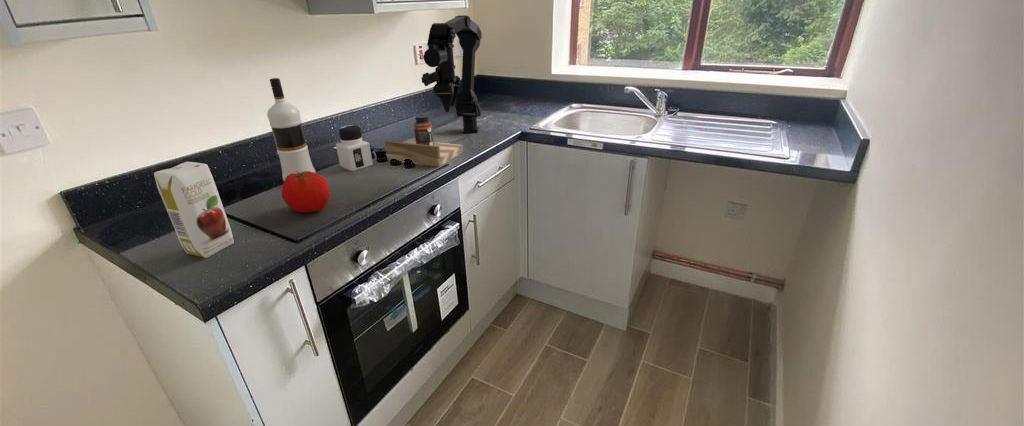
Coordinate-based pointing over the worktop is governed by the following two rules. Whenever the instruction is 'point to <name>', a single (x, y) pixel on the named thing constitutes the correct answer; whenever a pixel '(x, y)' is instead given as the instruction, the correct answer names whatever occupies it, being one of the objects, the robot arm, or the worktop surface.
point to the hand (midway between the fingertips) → (449, 109)
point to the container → (353, 149)
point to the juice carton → (195, 208)
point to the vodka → (288, 134)
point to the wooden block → (423, 152)
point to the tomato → (305, 191)
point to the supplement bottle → (423, 130)
